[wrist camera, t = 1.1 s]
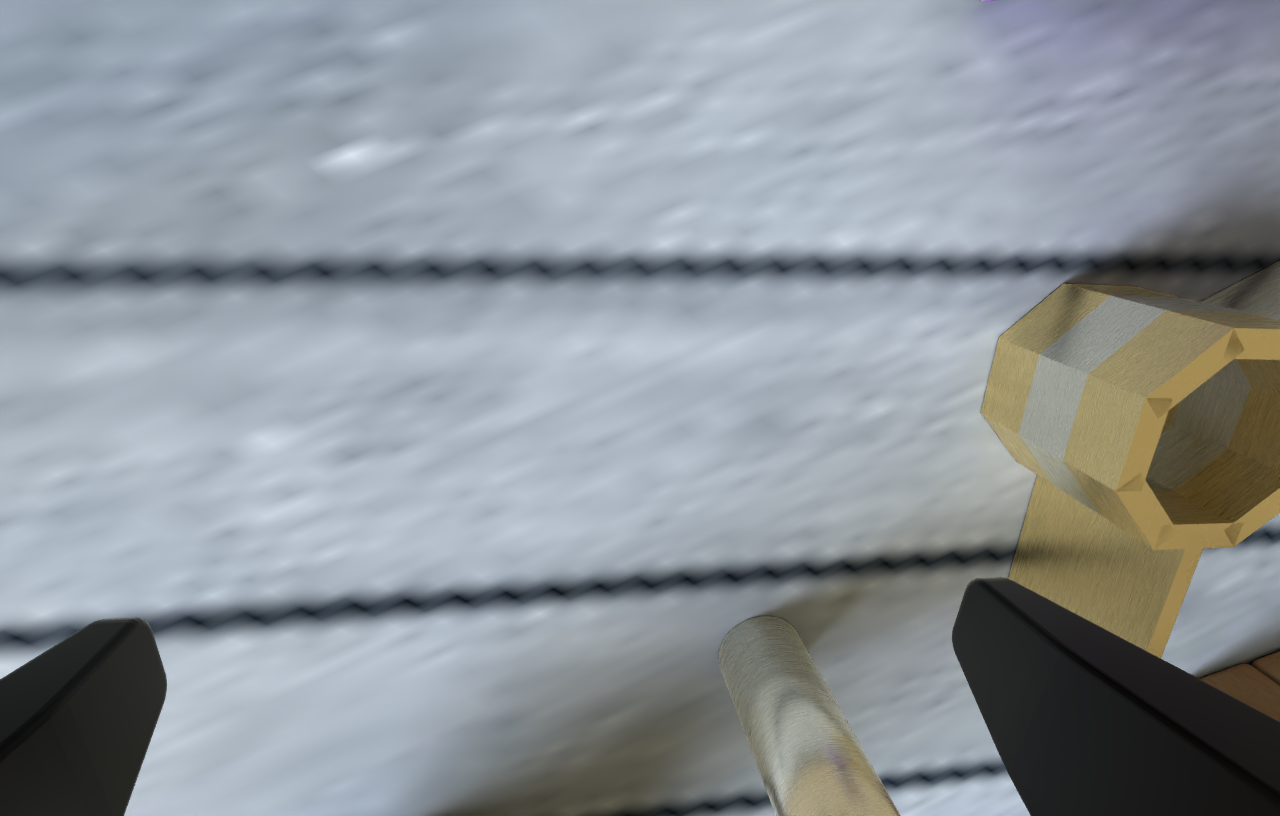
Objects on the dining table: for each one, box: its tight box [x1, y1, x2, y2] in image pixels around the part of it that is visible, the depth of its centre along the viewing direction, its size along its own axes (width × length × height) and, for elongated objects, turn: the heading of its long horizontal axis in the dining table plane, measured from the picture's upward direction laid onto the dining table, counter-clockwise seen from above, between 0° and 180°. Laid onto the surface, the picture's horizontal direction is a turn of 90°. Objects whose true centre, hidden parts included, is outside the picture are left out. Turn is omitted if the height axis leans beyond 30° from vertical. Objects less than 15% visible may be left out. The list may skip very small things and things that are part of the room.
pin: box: [718, 616, 900, 816], centre depth 22 cm, size 3×3×10 cm
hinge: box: [981, 261, 1280, 659], centre depth 23 cm, size 16×12×6 cm
